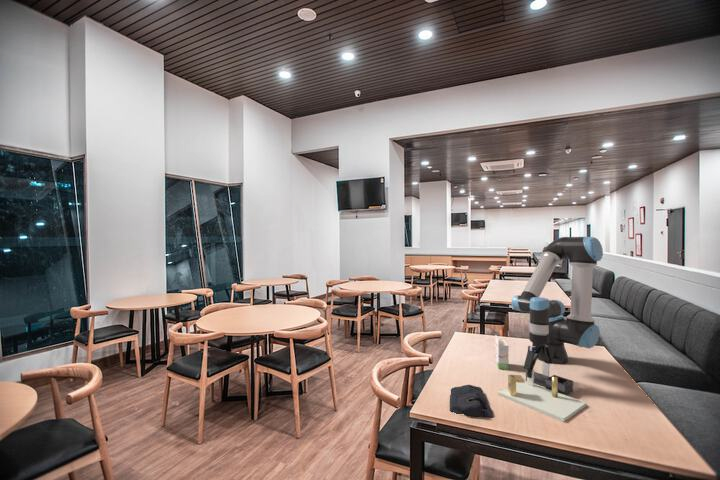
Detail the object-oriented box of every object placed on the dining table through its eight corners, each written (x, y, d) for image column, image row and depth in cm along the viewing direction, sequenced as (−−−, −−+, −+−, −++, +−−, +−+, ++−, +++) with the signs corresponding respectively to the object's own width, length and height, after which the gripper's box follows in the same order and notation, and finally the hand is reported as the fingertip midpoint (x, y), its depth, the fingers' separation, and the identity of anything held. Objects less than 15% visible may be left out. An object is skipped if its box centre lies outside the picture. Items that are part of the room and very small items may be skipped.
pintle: (553, 394, 135) (553, 375, 135) (558, 396, 133) (558, 377, 133) (550, 396, 134) (550, 376, 134) (556, 398, 132) (556, 378, 132)
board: (522, 382, 149) (522, 380, 149) (586, 405, 128) (586, 402, 128) (498, 395, 138) (498, 392, 138) (563, 422, 117) (563, 418, 117)
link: (572, 391, 140) (572, 380, 140) (564, 396, 136) (564, 385, 136) (531, 377, 154) (531, 367, 154) (523, 381, 150) (523, 371, 150)
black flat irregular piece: (487, 393, 140) (486, 381, 140) (493, 421, 119) (493, 407, 119) (449, 389, 144) (449, 378, 144) (449, 415, 123) (449, 402, 123)
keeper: (520, 394, 138) (520, 375, 138) (524, 400, 133) (524, 380, 133) (507, 393, 139) (507, 374, 139) (511, 399, 134) (511, 379, 134)
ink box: (509, 369, 163) (509, 339, 163) (498, 369, 164) (498, 339, 164) (505, 363, 172) (505, 334, 172) (495, 362, 173) (494, 334, 173)
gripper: (544, 327, 158) (543, 372, 158) (515, 335, 143) (514, 384, 143) (561, 330, 152) (560, 377, 152) (533, 339, 137) (532, 391, 137)
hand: (538, 381), depth 148 cm, fingers open, 13 cm apart
